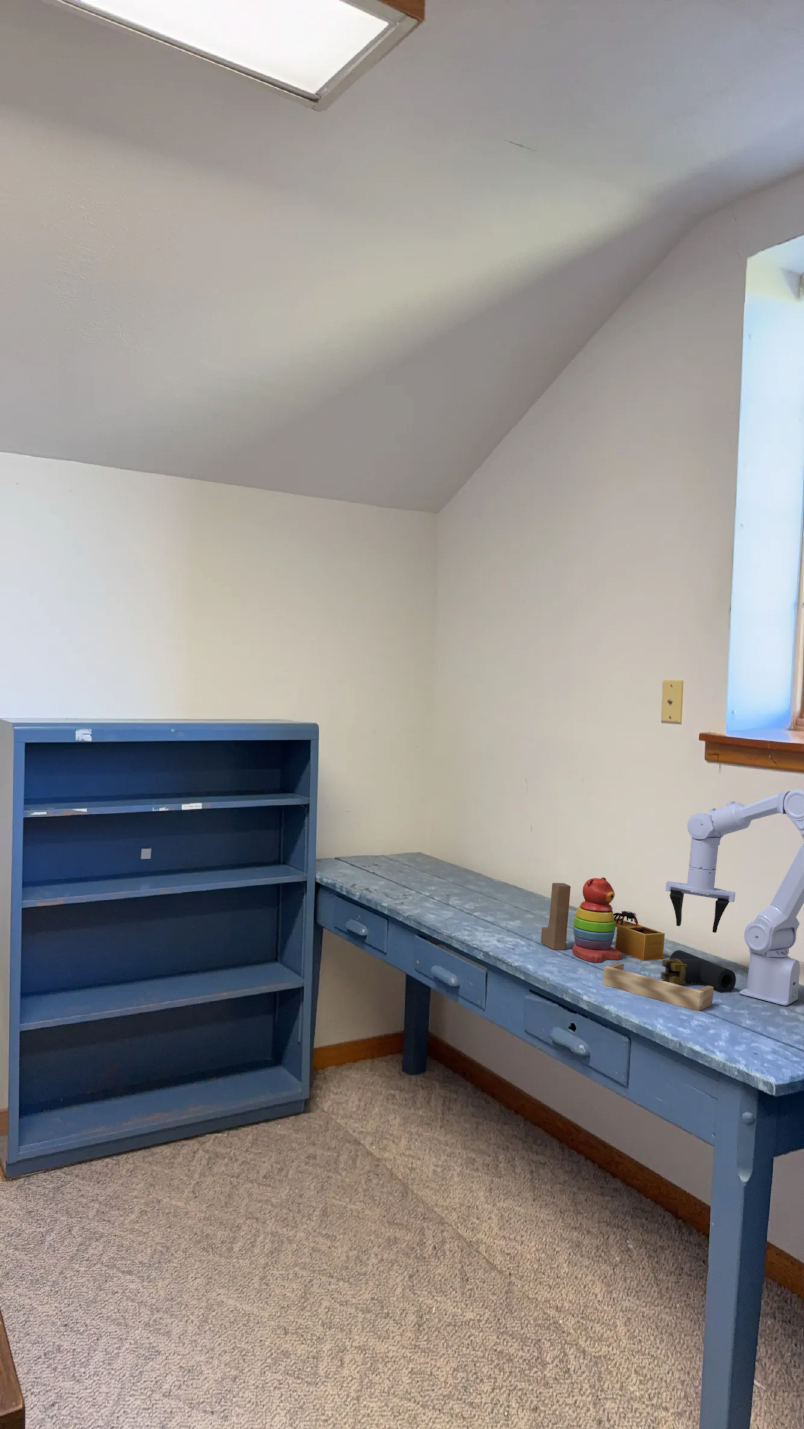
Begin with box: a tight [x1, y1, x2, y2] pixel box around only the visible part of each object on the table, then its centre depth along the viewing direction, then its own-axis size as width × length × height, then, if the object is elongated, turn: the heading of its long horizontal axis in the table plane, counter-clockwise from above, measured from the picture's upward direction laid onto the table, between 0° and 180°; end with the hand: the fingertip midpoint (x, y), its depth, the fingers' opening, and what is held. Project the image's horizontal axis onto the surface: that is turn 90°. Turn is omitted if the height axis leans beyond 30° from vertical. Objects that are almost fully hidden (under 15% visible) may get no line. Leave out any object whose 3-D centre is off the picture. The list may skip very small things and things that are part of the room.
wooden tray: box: [602, 962, 714, 1012], centre depth 189 cm, size 20×6×4 cm, turn 50°
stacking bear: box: [571, 876, 623, 963], centre depth 217 cm, size 11×10×18 cm
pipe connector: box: [660, 949, 737, 993], centre depth 201 cm, size 12×5×15 cm
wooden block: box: [540, 882, 572, 951], centre depth 222 cm, size 7×3×15 cm, turn 18°
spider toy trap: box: [613, 910, 666, 962], centre depth 224 cm, size 6×15×9 cm, turn 30°
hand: (696, 928), depth 209 cm, fingers open, 7 cm apart
